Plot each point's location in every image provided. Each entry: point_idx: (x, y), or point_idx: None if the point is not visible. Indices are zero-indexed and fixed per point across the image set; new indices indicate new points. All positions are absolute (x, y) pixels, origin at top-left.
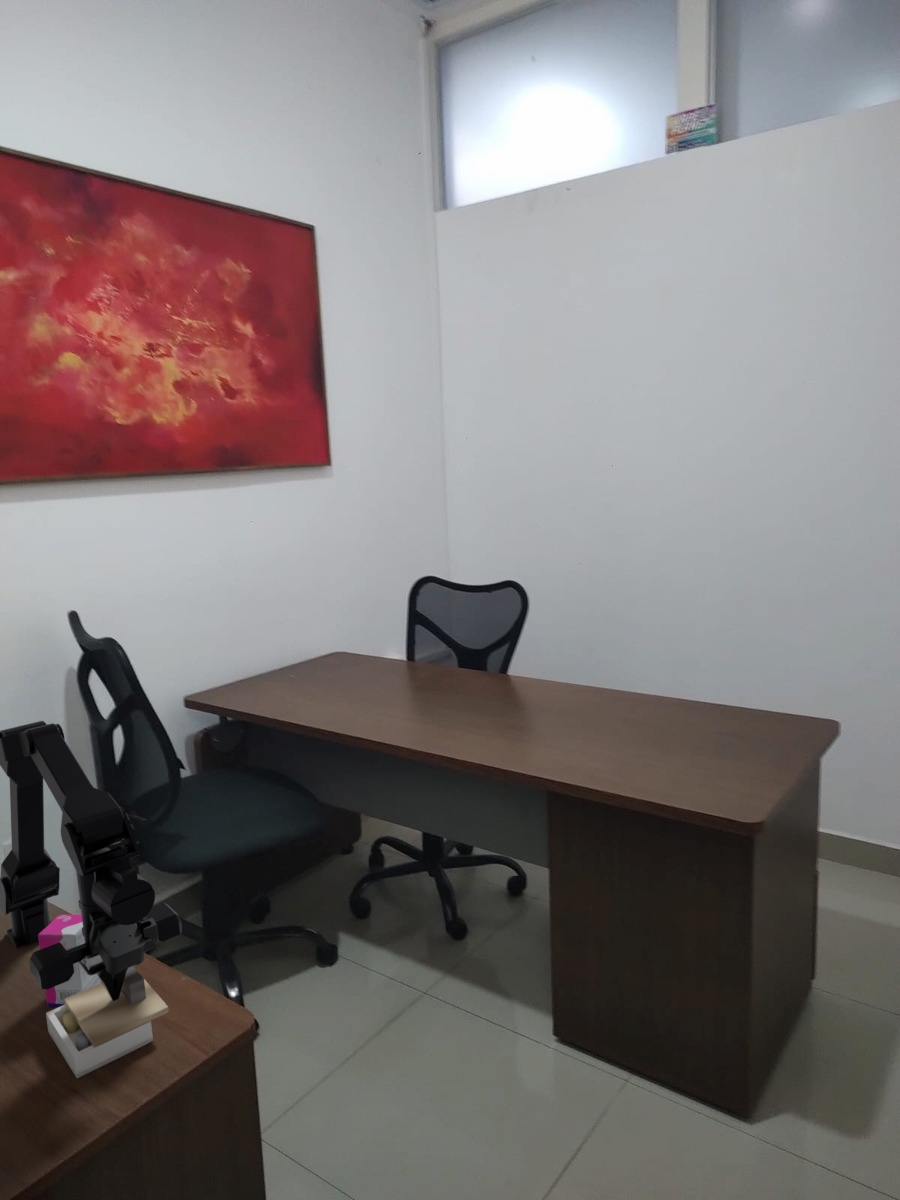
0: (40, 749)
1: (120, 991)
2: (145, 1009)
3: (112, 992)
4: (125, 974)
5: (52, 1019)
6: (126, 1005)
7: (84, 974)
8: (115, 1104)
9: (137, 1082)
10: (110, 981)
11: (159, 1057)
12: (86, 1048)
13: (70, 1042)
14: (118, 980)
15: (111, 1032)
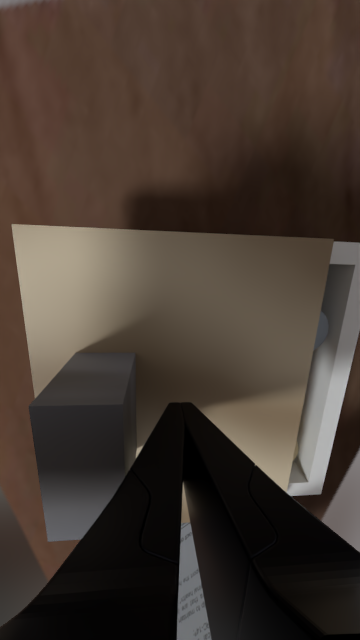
0: None
1: (161, 418)
2: (103, 282)
3: (202, 423)
4: (121, 485)
5: (324, 459)
6: (153, 361)
7: (199, 583)
8: (312, 44)
9: (227, 87)
10: (229, 476)
11: (133, 148)
12: (331, 262)
13: (345, 329)
14: (173, 464)
15: (263, 243)
